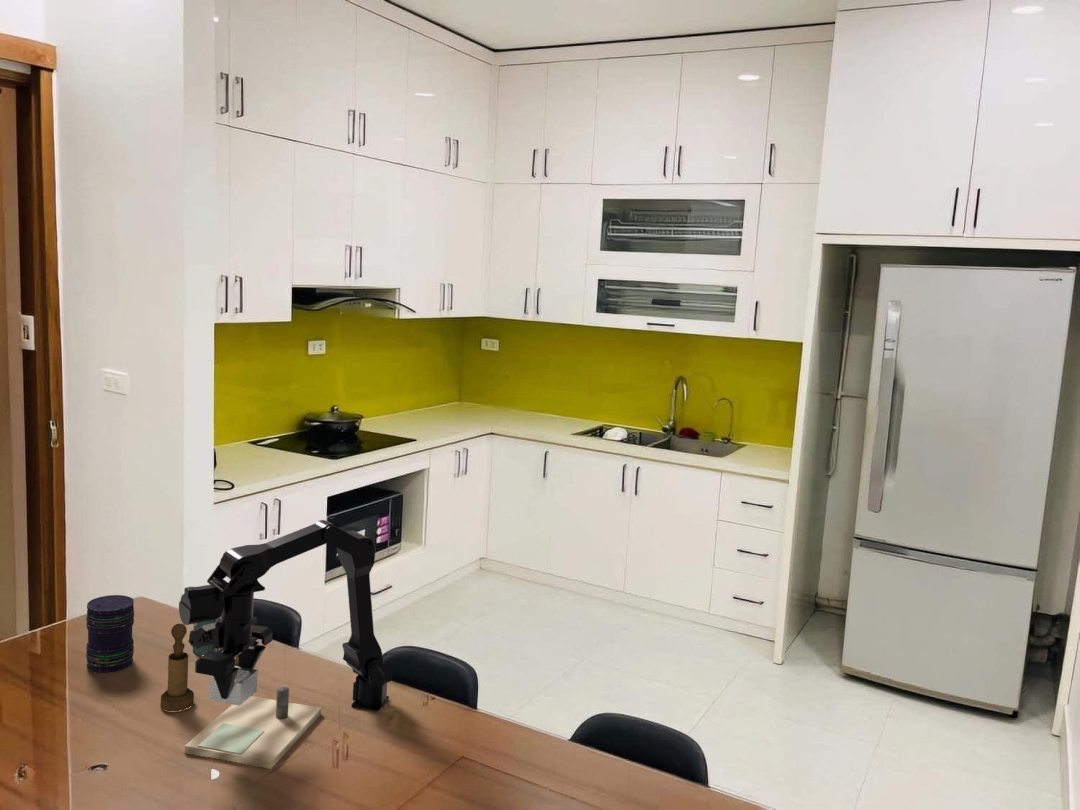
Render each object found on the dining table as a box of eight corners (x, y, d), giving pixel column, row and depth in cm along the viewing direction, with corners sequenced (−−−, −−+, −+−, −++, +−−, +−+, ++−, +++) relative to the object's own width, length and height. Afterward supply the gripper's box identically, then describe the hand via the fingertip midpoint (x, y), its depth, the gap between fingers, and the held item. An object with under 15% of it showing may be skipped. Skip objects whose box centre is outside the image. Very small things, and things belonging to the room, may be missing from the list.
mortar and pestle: (181, 715, 180) (183, 633, 177) (153, 709, 181) (155, 628, 179) (200, 700, 186) (201, 621, 184) (173, 695, 188) (174, 616, 185)
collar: (256, 691, 171) (257, 669, 171) (239, 705, 165) (240, 683, 164) (227, 686, 172) (228, 664, 172) (209, 700, 166) (210, 678, 165)
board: (321, 714, 184) (322, 681, 183) (270, 769, 163) (272, 731, 162) (243, 701, 187) (244, 668, 186) (184, 753, 166) (185, 716, 165)
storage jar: (119, 651, 207) (120, 591, 205) (142, 664, 201) (143, 603, 199) (77, 664, 198) (77, 602, 196) (99, 678, 193) (100, 614, 191)
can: (197, 644, 213) (199, 586, 211) (223, 645, 214) (224, 587, 212) (190, 655, 207) (191, 595, 205) (216, 656, 208) (218, 596, 206)
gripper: (225, 593, 177) (222, 665, 179) (170, 625, 159) (167, 705, 161) (275, 601, 175) (271, 674, 177) (225, 634, 157) (222, 715, 159)
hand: (233, 691), depth 168 cm, fingers closed on collar, 6 cm apart
